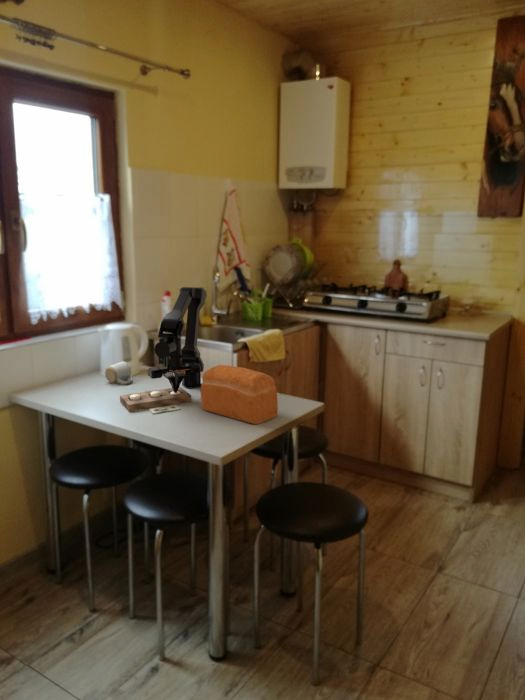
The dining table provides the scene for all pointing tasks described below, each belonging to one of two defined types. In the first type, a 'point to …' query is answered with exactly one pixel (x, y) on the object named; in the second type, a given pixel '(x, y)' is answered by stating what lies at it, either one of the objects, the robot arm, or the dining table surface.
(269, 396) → the bread
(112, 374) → the ceramic mug
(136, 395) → the cream egg
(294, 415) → the dining table surface
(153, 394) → the off-white egg
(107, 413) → the dining table surface
